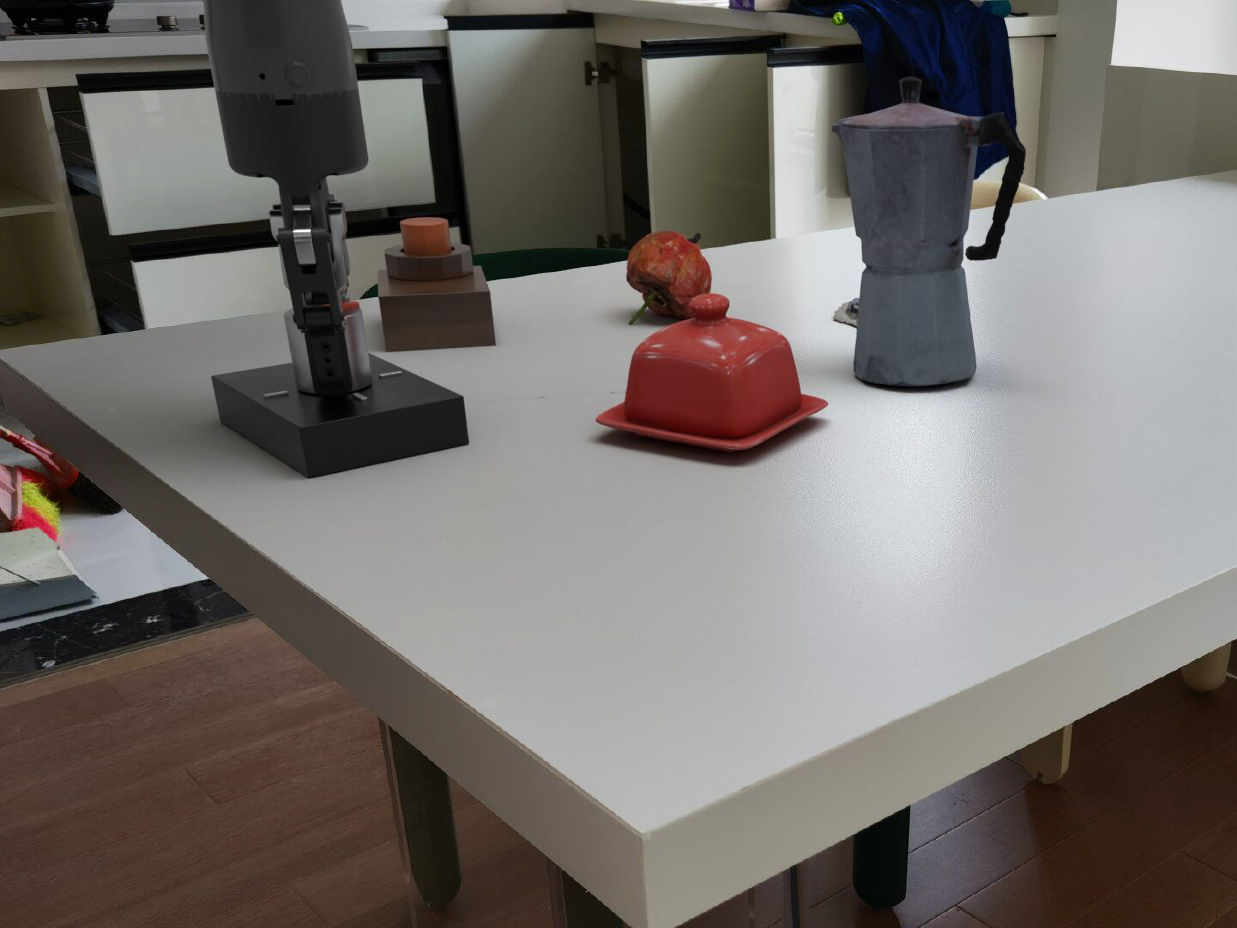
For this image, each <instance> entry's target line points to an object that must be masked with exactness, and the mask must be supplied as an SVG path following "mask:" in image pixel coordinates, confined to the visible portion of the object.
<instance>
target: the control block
mask: <svg viewBox="0 0 1237 928" xmlns="http://www.w3.org/2000/svg"><path fill="white" fill-rule="evenodd" d="M451 250H452V251H451V252H447V253H440V254H424V255H418V254H406V253H404V249H403V244H397V245H393V246H390V247H387V248H384V249H383V252H384V261H385V268H386V269H378V270H377V291H378V292H377V295H378V303H379V304H378V305H379V311H380V317H381V325H382V331H383V339H384V346H385V352H386V353H397V352H415V351H428V350H429V351H431V350H446V349H463V348H479V347H480V348H481V347H494V346H495V347H496V346H497V342H496V332H495V324H494V323H495V322H494V315H493V305H492V295H491V290H490V287H489V284H488V281H487V279H486V276H485V273H484V270H483V268H482V265H473V264H474V263H473V255H472V249H471V246H470V245H468V244H463V243H459V242H451Z"/></svg>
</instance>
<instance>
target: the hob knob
mask: <svg viewBox="0 0 1237 928" xmlns="http://www.w3.org/2000/svg"><path fill="white" fill-rule="evenodd" d="M312 306H330V303H328V304H313V305H307V307H312ZM342 306H343V312H344V316H346V318H347V325H345V336H346V343H347V349H348V355H349V362H350V368H351V374H352V380H353V389H352V391H357V390H360V389H363V388H365V387H368V386H369V385H371V383H372V376H371V369H370V362H369V356H368V353H369V350H368V343H367V336H366V330H365V329H366V328H365V322H364V316H363V311H362V308H361V307H360V306H361V305H360V302H359V301H356V300H350V302H343V303H342ZM293 314H294V311H293V308H290V309H288V310H287V311H284V313H283V319H284V325H285V331H286V336H287V341H288V346H289V347H288V348H289V353H290V359H291V363H292V365H293V371H294V376H295V382H296V387H297V389H298V390H300V391H302V392H306V393H311V394H316V393H315V391H314V389H313V383H312V377H311V372H310V366H309V360H308V354H307V348H306V342H305V337H304V333H301V330H298V329H297V325H296V323H294V321H293ZM352 391H351V392H352Z"/></svg>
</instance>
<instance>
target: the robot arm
mask: <svg viewBox="0 0 1237 928" xmlns="http://www.w3.org/2000/svg"><path fill="white" fill-rule="evenodd" d="M202 2H203V3H202V4H203V19H204V20H203V21H204V33H205V34H204V36H205V37H204V38H205V44H206V50H207V54H208V55H207V57H208V61H209V67H210V71H211V77H212V81H213V87H214V91H215V92H214V93H215V98H216V103H217V109H218V114H219V120H220V124H221V130H222V136H223V141H224V148H225V153H226V157H227V162H228V165H229V168H230V169H231V170H232V171H233V172H234V173H236V174H238V175H240V176H243V177H249V178H256V179H262V178H269V179H272V180H274V181H275V182H276V184H277V186H278V195H279V201H280V202H279V203H272V204H271V205H272V209H269V211H268V215H269V216H268V217H269V222H270V223H269V224H270V230H271V235H272V237H273V238H274V239H275V241H276V242H277V245H278V252H279V259H280V266H281V273H282V279H283V285H284V286H285V288H286V289H287V290H288V291H289V295H290V301H291V305H292V309H293V311H294V314H293V321H294V323H296V325H297V329H298V330H301V333H304V337H305V342H306V348H307V354H308V360H309V366H310V372H311V377H312V383H313V389H314V391H315V393H316V394H318V395H320V396H332V395H346V394H349V393H350V392H351V391H352V389H353V380H352V374H351V368H350V362H349V355H348V349H347V343H346V336H345V325H347V318H346V316H344V312H343V306H342V303H343V302H350V301H351V299H350V295H349V294H348V288H350V282H349V281H350V280H349V278H348V277H349V276H350V275H351V265H350V264H351V263H350V256H349V251H348V246H347V237H346V236H347V232H348V219H347V213H346V207H345V203H344V201H342V200H341V201H338V200H337V199H335V195H334V194H335V193H331V194H330V191H329V186H328V180H327V177H330V176H336V177H337V176H345V175H351V174H355V173H358V172H361V171H363V170H364V169H365V168H366V167H367V166H368V164H369V153H368V145H367V138H366V131H365V124H364V118H363V111H362V103H361V97H360V96H361V95H360V90H359V83H358V76H357V69H356V62H355V56H354V49H353V43H352V36H351V32H350V28H349V25H348V22H347V18H346V15H345V11H344V6H343V3H342V0H202ZM328 303H330V306H312V307H307V305H313V304H328Z"/></svg>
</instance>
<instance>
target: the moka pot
mask: <svg viewBox="0 0 1237 928" xmlns="http://www.w3.org/2000/svg"><path fill="white" fill-rule="evenodd" d="M922 83H923V80H922V79H920V78H918V77H915V76H911V75H910V76H906V77H903V78H901V79H898V85H899V90H900V97H901V103H898V104H896V105H893V106H889V107H887V108H883V109H880V110H877V111H873V112H870V113H863V114H860V115H854V116H850V117H849V116H848V117H843V118H841V119H839V120H838V121H837V122H836V123H834V124H832V126H831V132H832V133H834V134H836V135H837V136H838V138H839V141H840V143H841V145H842V148H843V157H844V162H845V168H846V174H847V182H848V183H847V184H848V191H849V197H850V198H849V199H850V204H851V212H852V218H853V224H854V232H855V237H857V238H859V240H860V242H861V244H860V245H861V246H860V247H861V262H862V263H863V264H864V265H865V268H864V269H863V271H861V278H860V285H859V287H860V288H859V297H858V298H859V309H858V320H857V326H856V335H855V345H854V355H853V368H852V369H853V370H852V372H853V373H854V375H855V376H856V377H857V378H859V379H860V380H861V381H865V382H867V383H872V384H874V385H875V384H877V385H878V384H879V385H885V386H894V387H895V386H897V387H929V386H935V385H942V384H943V385H944V384H949V383H954V382H960V381H964V380H969V379H971V377H973V376H974V375H975V374H976V371H977V353H976V347H975V342H974V340H975V339H974V333H973V326H972V321H971V308H970V302H969V294H968V293H969V292H968V286H967V277H966V271H965V268H964V267H963V266H962V264H963V261H964V256H965V257H966V259H967V260H968V261H971V262H972V261H975V262H977V261H978V262H979V261H988V260H995V259H997V258H998V256H999V255H998V254H999V251H1000V247H1001V244H1002V238H1003V237H1004V235H1005V233H1006V224H1007V222H1008V220H1009V218H1010V216H1011V209H1012V207H1013V204H1014V200H1015V196H1016V195H1017V192H1018V190H1019V187H1020V183H1021V182H1022V180H1021V179H1022V177H1023V175H1024V172H1025V163H1026V156H1027V150H1026V147H1025V145H1024V144H1023V143H1022V142H1021V140H1020V138H1019V136H1018V134H1017V133H1016V131H1015V130H1014V129H1013V128H1011V126H1010V124H1011V123H1010V121H1009V120H1007V119H1006V118H1005V112H1004V111H1000V112H996V113H991V114H988V115H985V116H968V115H964V114H961V113H956V112H952V111H950V110H949V111H948V110H946V109H941V108H938V107H935V106H930V105H928V104H924V103H922V102H921V103H920V96H921V90H922ZM1012 129H1013V130H1012ZM994 143H999V144H1002V145H1003V147H1004V148H1005V149H1006V151H1007V153H1008V154H1007V155H1008V160H1007V162H1006V165H1005V167H1004V168H1005V169H1004V172H1003V175H1002V177H1001V184H1000V187H999V190H998V195H997V198H996V201H995V202H994V205H995V206H994V209H993V213H992V219H991V220H992V223H991V225H990V227H989V229H988V231H987V233H986V235H985V240H984V243H983V244H982V245H979V246H978V245H977V246H975V245H969V246H967V247H966V248H964V247H965V246H964V245H965V244H964V240H965V237H966V234H967V232H968V230H969V225H970V217H971V207H972V198H973V189H974V179H975V171H976V163H977V154H978V147H987V146H990V145H992V144H994ZM964 249H965V251H964ZM964 252H965V254H964Z"/></svg>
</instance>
